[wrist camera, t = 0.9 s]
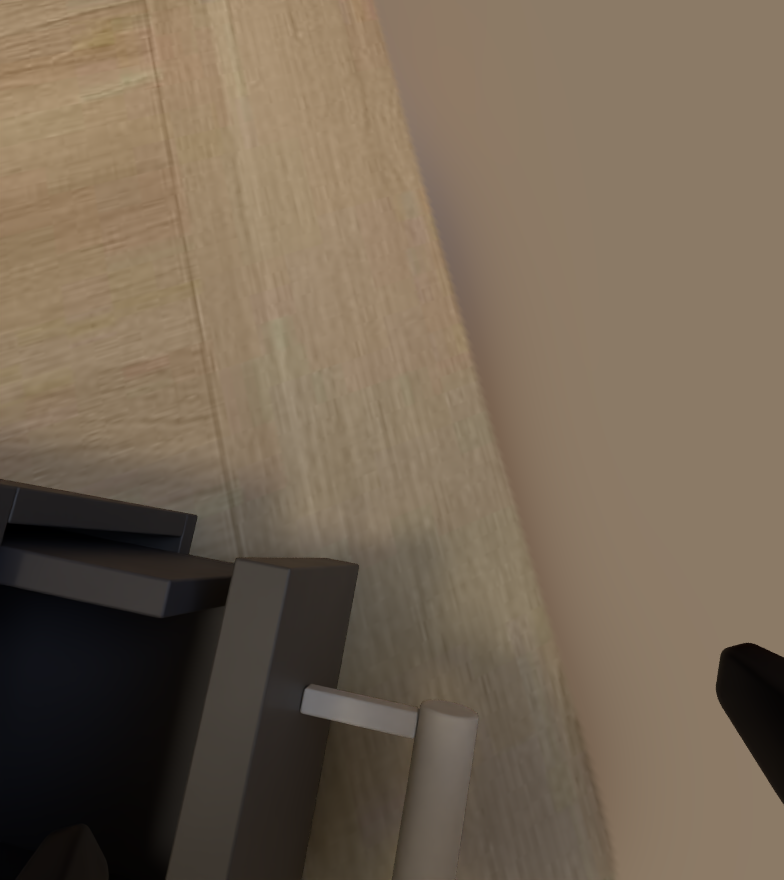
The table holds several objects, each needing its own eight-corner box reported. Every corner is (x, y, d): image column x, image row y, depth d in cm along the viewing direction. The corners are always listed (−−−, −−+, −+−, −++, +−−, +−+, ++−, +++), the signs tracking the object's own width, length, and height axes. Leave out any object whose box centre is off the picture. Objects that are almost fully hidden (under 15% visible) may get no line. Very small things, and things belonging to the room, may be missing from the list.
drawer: (489, 589, 19) (504, 609, 11) (429, 998, 17) (398, 1355, 9) (18, 500, 21) (-228, 467, 14) (-81, 848, 20) (-429, 1032, 12)
